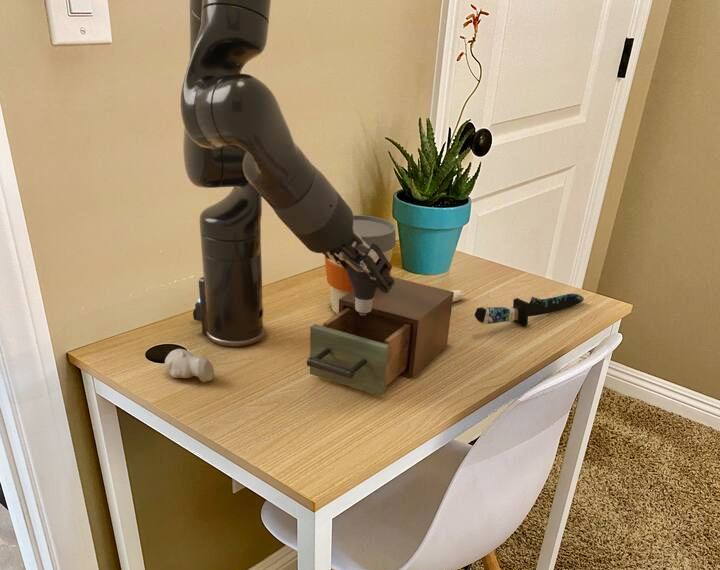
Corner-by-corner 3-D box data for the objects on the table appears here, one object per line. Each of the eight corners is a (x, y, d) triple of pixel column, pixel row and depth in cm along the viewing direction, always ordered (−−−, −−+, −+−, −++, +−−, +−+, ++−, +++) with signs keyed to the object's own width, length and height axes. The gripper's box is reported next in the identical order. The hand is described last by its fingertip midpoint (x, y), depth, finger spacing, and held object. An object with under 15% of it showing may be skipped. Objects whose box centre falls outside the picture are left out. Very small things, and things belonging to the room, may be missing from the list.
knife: (475, 334, 128) (481, 309, 125) (463, 327, 130) (469, 302, 127) (589, 317, 145) (597, 295, 142) (578, 312, 147) (585, 289, 144)
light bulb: (344, 305, 112) (348, 238, 106) (382, 308, 112) (388, 241, 106) (342, 320, 107) (346, 251, 101) (381, 323, 107) (387, 254, 101)
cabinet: (412, 378, 116) (418, 320, 111) (336, 355, 121) (338, 299, 116) (446, 346, 126) (454, 291, 121) (375, 326, 131) (379, 273, 126)
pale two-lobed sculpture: (161, 380, 114) (184, 360, 116) (199, 396, 110) (221, 375, 113) (151, 358, 111) (175, 338, 113) (189, 374, 107) (213, 353, 109)
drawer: (364, 412, 105) (368, 362, 101) (290, 388, 110) (290, 339, 105) (417, 364, 118) (423, 318, 114) (349, 344, 123) (351, 299, 118)
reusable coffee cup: (392, 298, 142) (399, 217, 133) (387, 325, 132) (394, 240, 123) (327, 292, 143) (329, 211, 134) (317, 318, 133) (318, 233, 124)
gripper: (365, 196, 90) (425, 274, 103) (292, 170, 98) (356, 245, 112) (330, 248, 90) (394, 319, 104) (260, 217, 98) (327, 286, 112)
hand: (374, 280), depth 108 cm, fingers closed on light bulb, 5 cm apart
